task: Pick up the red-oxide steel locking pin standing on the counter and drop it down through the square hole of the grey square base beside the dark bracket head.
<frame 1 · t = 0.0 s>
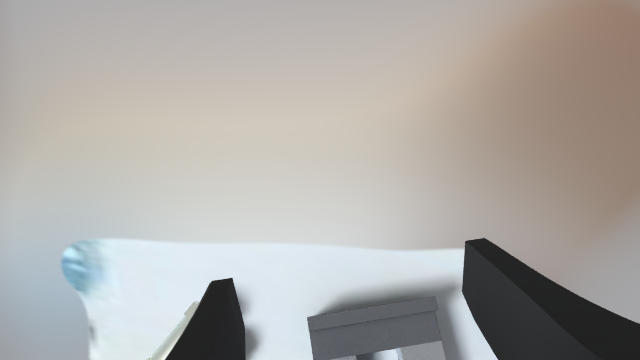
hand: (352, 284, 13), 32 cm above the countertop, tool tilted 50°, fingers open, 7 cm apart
pipe fitting: (200, 358, 43), on the countertop
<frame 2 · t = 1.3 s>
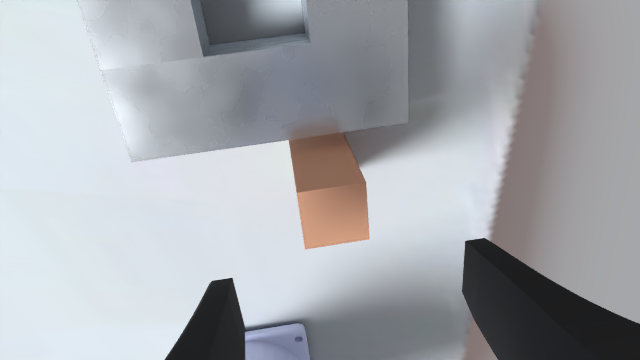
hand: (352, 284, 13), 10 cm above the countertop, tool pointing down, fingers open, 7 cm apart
locking pin: (316, 153, 22), on the countertop
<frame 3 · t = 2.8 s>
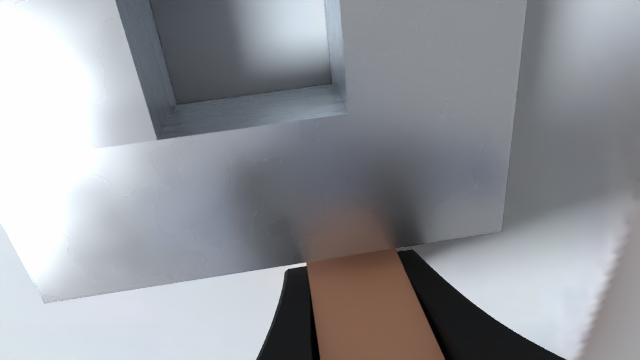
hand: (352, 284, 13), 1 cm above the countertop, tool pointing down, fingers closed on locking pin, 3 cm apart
locking pin: (344, 256, 15), on the countertop, touching gripper
grey square base: (240, 11, 11), on the countertop
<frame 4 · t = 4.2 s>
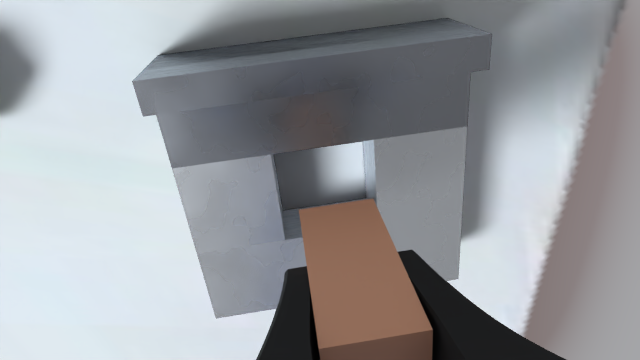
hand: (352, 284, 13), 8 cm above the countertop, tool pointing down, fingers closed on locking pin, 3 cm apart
locking pin: (339, 235, 16), point 6 cm above the countertop, touching gripper
grey square base: (320, 166, 21), on the countertop
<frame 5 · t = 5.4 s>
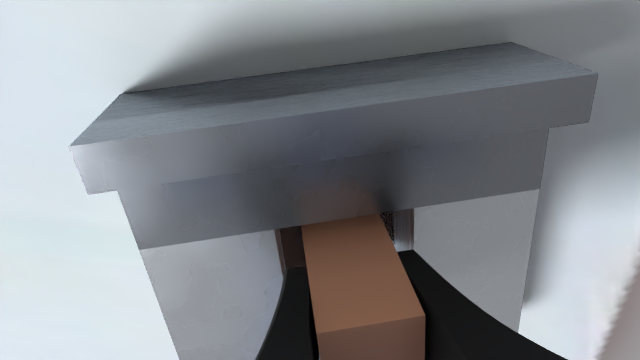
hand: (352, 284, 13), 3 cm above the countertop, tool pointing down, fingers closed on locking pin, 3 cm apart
locking pin: (337, 228, 16), resting in grey square base, touching gripper
grey square base: (337, 230, 16), on the countertop
when the fingers open (3 cm above the countertop, at t = 5.7 s): locking pin stays where it is, resting in grey square base.
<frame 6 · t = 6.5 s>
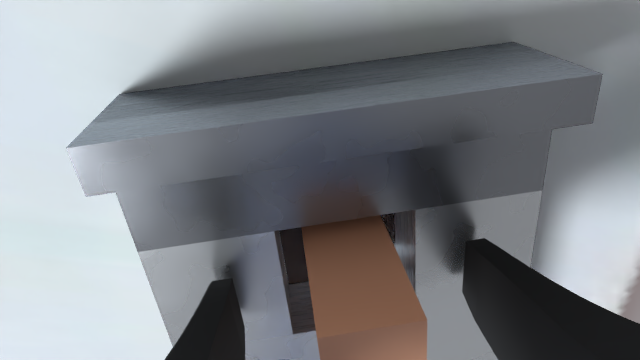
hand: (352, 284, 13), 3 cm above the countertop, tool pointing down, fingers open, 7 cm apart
locking pin: (337, 230, 16), resting in grey square base
grey square base: (338, 231, 16), on the countertop
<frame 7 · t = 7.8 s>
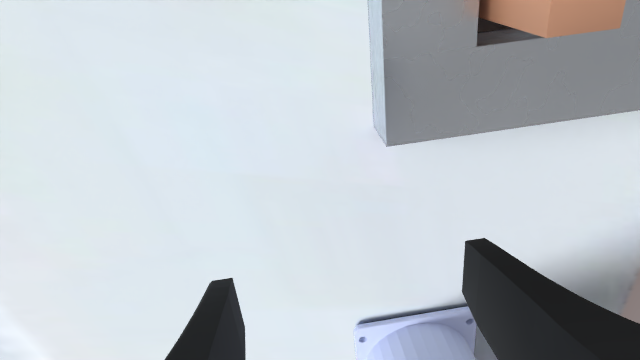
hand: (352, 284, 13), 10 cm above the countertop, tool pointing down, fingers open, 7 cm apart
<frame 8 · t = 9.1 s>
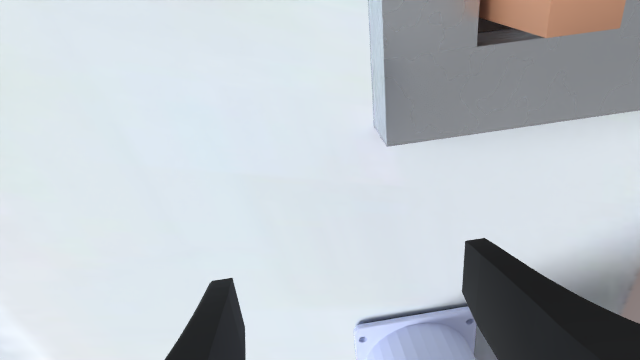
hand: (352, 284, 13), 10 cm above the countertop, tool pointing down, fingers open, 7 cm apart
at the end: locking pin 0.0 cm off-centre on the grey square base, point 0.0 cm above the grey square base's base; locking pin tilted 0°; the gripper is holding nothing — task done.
